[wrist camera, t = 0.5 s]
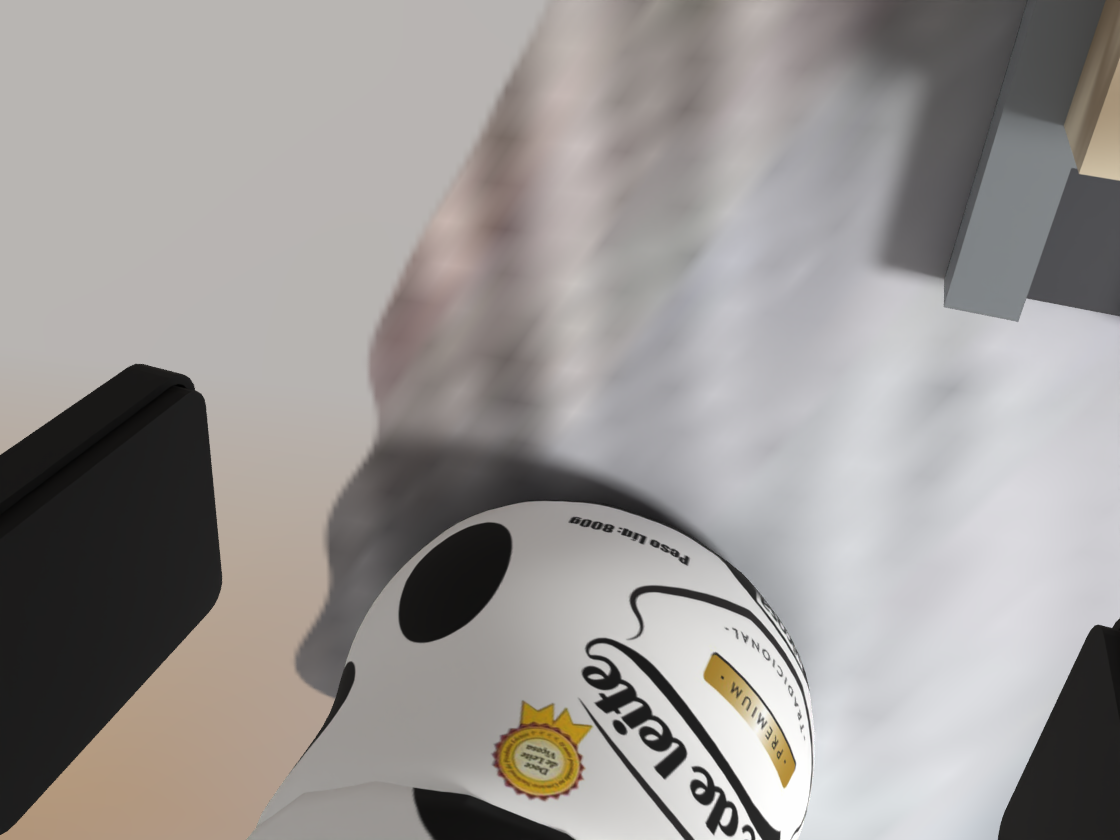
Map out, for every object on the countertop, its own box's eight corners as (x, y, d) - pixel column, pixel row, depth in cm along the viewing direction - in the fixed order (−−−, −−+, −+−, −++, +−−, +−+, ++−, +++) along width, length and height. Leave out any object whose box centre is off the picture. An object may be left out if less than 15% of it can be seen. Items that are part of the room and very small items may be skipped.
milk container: (909, 588, 37) (882, 1113, 23) (724, 855, 47) (620, 1343, 33) (464, 388, 39) (167, 758, 24) (374, 687, 49) (124, 1079, 34)
